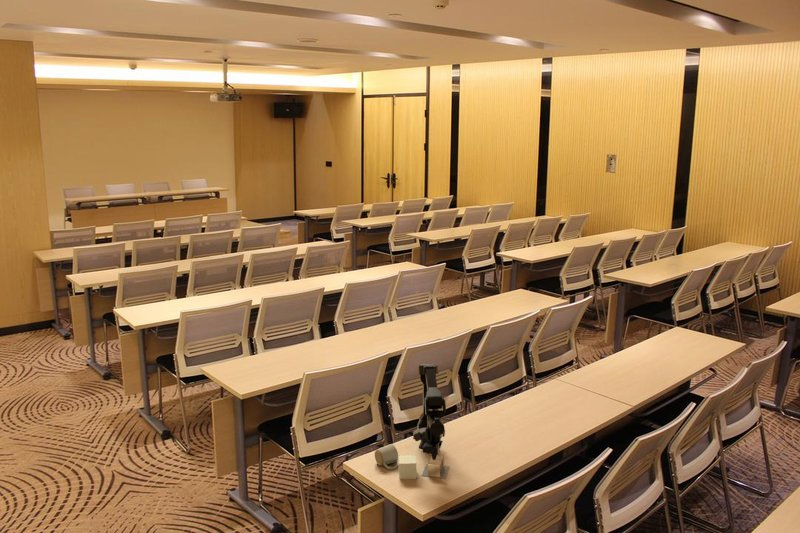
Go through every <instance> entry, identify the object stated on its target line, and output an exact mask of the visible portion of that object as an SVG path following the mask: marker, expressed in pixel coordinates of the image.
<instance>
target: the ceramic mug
mask: <svg viewBox="0 0 800 533" xmlns="http://www.w3.org/2000/svg"><path fill="white" fill-rule="evenodd" d="M374 459H375V462H376V463H377V465H378V466H381V467H383V466H384V467H385V468H386V469H387V470H390V471H391V470H396V469H397V468H398V466H399V453H398V450H397V448H396V446H395V445H394V444H393V443H390V444H387V445H385V446H382V447H379V448H377V449H376V450H375V451H374ZM393 463H396V464H395V466H388V465H389V464H393Z"/></svg>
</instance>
